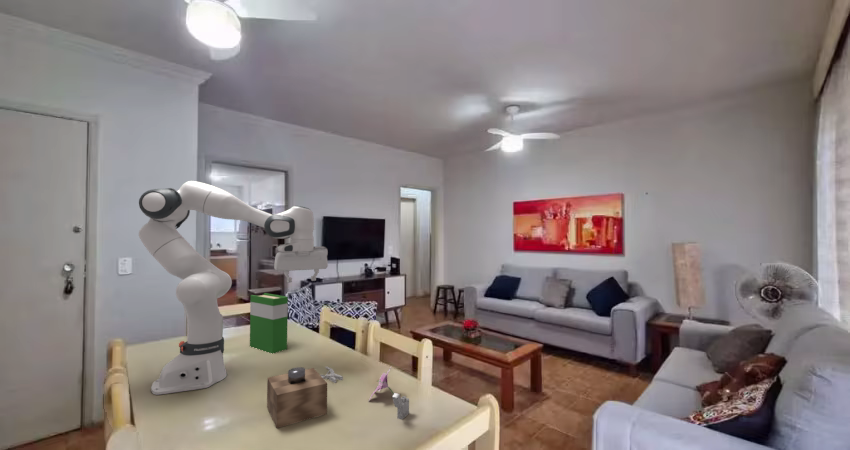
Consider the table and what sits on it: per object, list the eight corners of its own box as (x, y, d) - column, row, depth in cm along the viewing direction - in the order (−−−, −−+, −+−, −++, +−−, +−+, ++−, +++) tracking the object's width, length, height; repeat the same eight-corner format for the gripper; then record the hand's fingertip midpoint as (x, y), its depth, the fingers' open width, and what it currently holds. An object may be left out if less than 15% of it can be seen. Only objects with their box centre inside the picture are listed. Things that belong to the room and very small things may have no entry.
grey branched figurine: (326, 364, 141) (350, 373, 131) (326, 368, 141) (350, 378, 131) (304, 371, 133) (327, 382, 124) (304, 375, 133) (327, 386, 124)
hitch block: (276, 428, 97) (277, 394, 97) (266, 407, 108) (267, 377, 108) (327, 413, 104) (327, 383, 105) (312, 395, 116) (313, 368, 116)
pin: (289, 409, 103) (290, 374, 103) (286, 402, 107) (286, 369, 107) (306, 404, 106) (307, 371, 106) (302, 398, 110) (302, 366, 110)
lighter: (404, 411, 106) (404, 384, 106) (409, 413, 105) (409, 386, 105) (391, 423, 99) (391, 394, 100) (397, 424, 99) (397, 395, 99)
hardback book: (249, 346, 166) (250, 295, 166) (264, 342, 172) (265, 293, 172) (272, 353, 156) (273, 299, 157) (287, 349, 162) (287, 296, 163)
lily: (386, 388, 124) (373, 365, 123) (412, 382, 119) (398, 358, 118) (369, 414, 114) (354, 389, 113) (396, 408, 108) (381, 382, 107)
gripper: (325, 246, 150) (324, 278, 149) (273, 246, 138) (273, 282, 138) (330, 246, 144) (329, 280, 144) (277, 247, 133) (276, 284, 133)
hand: (301, 281), depth 141 cm, fingers open, 8 cm apart
